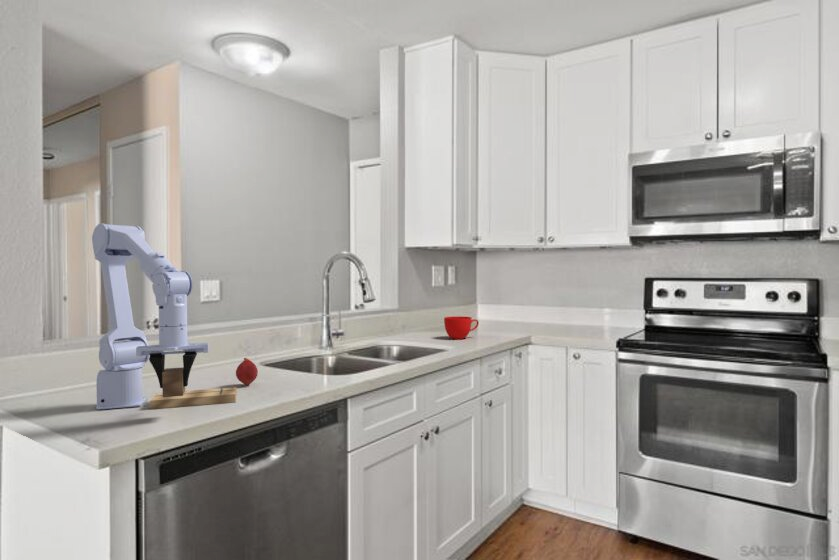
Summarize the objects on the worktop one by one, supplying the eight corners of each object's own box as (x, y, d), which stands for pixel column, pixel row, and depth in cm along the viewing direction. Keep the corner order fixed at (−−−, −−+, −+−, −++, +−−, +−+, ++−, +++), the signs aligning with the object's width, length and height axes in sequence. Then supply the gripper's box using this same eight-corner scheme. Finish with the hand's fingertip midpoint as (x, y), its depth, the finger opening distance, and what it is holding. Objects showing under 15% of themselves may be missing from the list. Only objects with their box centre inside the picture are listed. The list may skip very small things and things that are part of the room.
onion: (250, 382, 150) (250, 355, 150) (261, 385, 146) (261, 357, 146) (232, 385, 145) (231, 357, 145) (243, 388, 142) (243, 359, 142)
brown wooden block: (162, 397, 112) (162, 372, 111) (169, 388, 121) (168, 364, 120) (182, 395, 113) (182, 370, 113) (187, 386, 122) (187, 363, 122)
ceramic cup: (483, 339, 240) (483, 317, 240) (449, 341, 235) (449, 319, 235) (473, 336, 252) (473, 315, 252) (440, 337, 248) (440, 317, 248)
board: (150, 409, 121) (149, 400, 121) (156, 401, 129) (156, 392, 129) (235, 402, 127) (235, 393, 127) (236, 394, 134) (236, 387, 134)
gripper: (132, 328, 108) (133, 392, 108) (206, 326, 113) (207, 387, 113) (139, 325, 115) (140, 385, 115) (209, 323, 119) (210, 381, 120)
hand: (174, 386), depth 114 cm, fingers closed on brown wooden block, 4 cm apart
